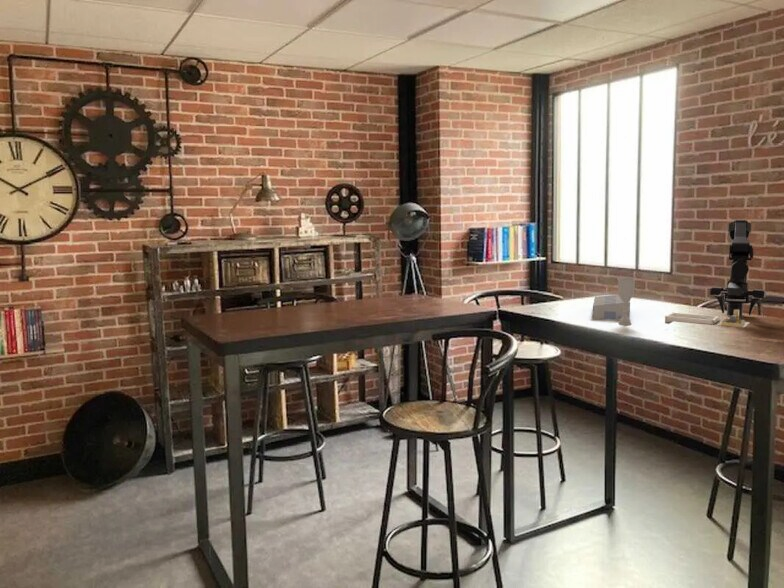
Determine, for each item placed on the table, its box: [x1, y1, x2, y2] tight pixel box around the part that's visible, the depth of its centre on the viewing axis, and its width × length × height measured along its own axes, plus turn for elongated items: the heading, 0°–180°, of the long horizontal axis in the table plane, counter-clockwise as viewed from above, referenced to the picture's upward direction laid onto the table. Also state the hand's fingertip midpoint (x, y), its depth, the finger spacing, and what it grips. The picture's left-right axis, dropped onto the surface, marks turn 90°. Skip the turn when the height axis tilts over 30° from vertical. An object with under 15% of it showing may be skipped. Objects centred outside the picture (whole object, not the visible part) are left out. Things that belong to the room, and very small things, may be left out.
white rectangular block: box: [716, 315, 751, 328], centre depth 251 cm, size 13×10×4 cm
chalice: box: [616, 277, 637, 326], centre depth 257 cm, size 7×7×18 cm
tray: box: [664, 312, 720, 325], centre depth 260 cm, size 11×18×2 cm, turn 53°
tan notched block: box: [720, 309, 746, 328], centre depth 251 cm, size 6×12×5 cm, turn 143°
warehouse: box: [592, 294, 631, 321], centre depth 283 cm, size 30×14×8 cm, turn 161°
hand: (736, 314), depth 255 cm, fingers open, 9 cm apart
